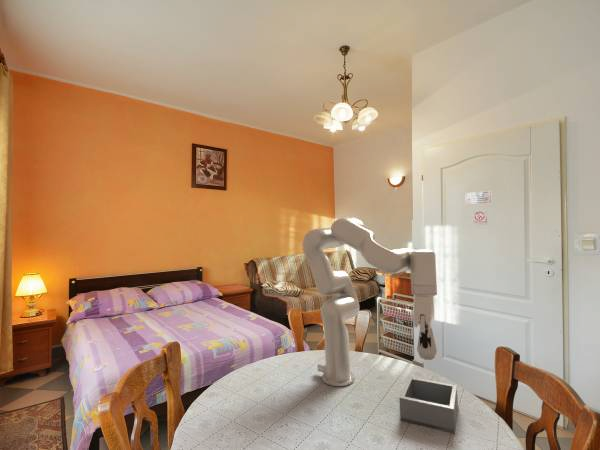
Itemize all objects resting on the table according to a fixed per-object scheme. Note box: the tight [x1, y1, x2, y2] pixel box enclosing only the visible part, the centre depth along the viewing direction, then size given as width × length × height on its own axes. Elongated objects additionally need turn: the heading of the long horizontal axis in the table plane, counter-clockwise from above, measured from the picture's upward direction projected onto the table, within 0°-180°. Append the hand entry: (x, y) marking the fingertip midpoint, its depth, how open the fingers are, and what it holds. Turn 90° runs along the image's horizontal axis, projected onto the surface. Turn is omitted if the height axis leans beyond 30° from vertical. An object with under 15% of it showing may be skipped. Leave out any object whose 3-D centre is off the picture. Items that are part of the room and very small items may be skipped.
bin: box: [399, 376, 459, 435], centre depth 102 cm, size 15×15×7 cm
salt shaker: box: [416, 324, 438, 361], centre depth 102 cm, size 6×6×13 cm
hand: (426, 347), depth 102 cm, fingers closed on salt shaker, 3 cm apart
